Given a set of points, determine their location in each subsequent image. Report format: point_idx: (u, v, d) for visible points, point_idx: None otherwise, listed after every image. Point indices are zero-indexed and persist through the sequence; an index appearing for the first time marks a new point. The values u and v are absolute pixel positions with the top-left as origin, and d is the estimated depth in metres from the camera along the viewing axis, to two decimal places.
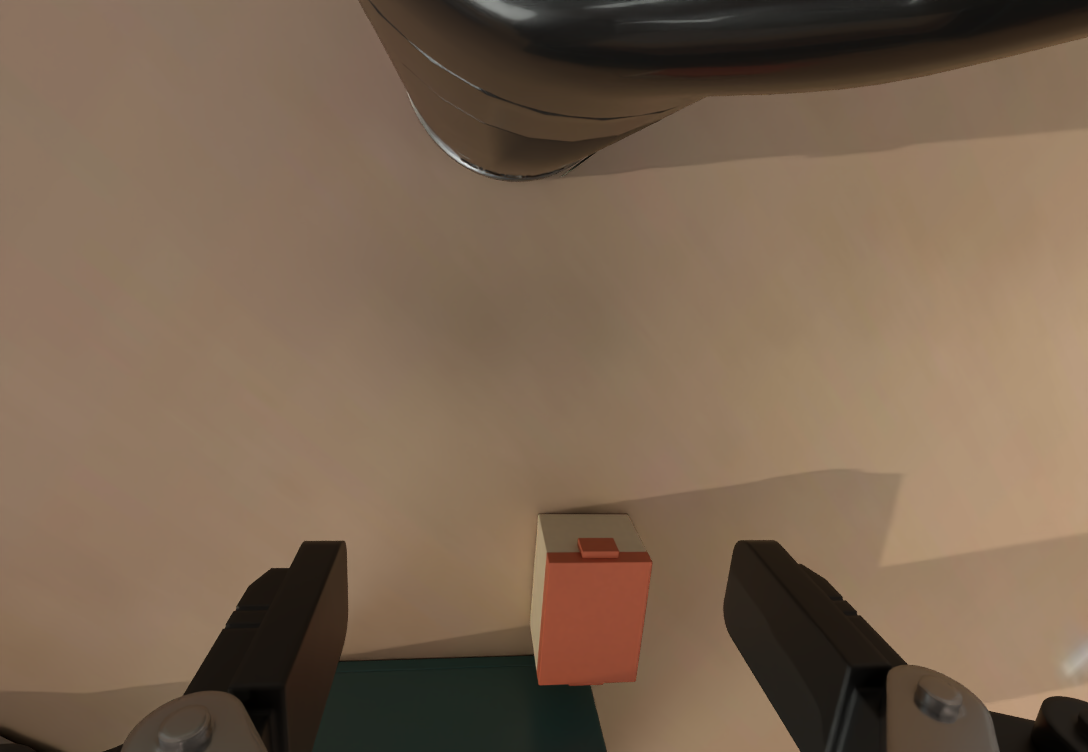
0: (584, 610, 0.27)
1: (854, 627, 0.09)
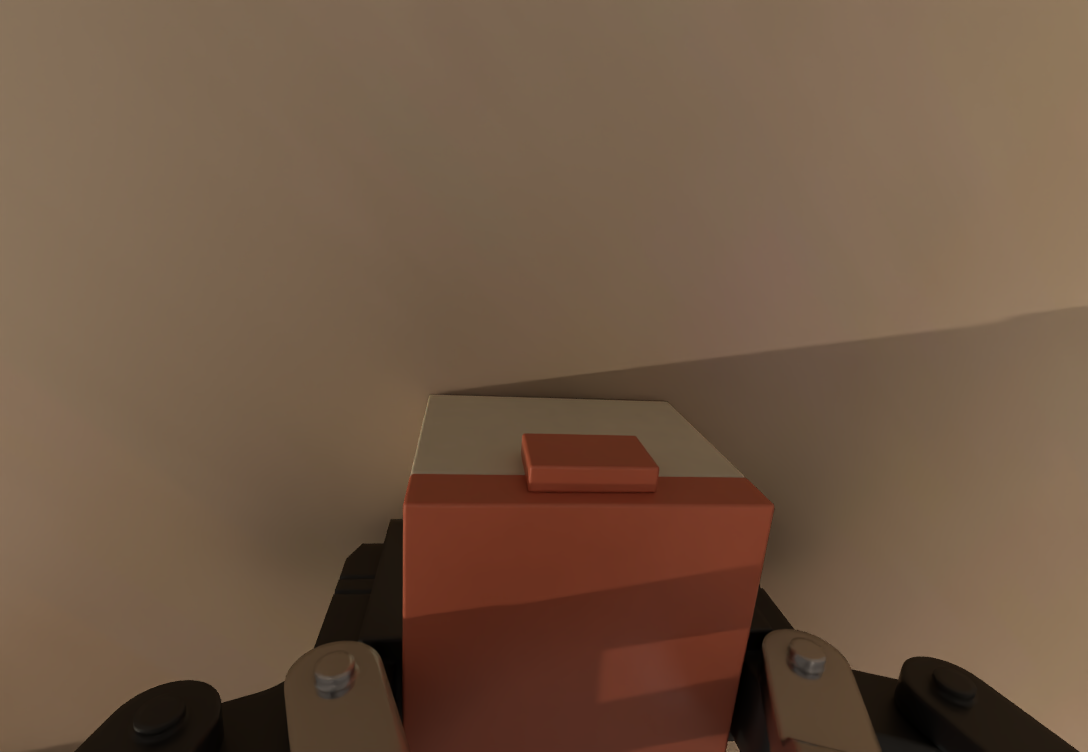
0: (541, 671, 0.08)
1: None
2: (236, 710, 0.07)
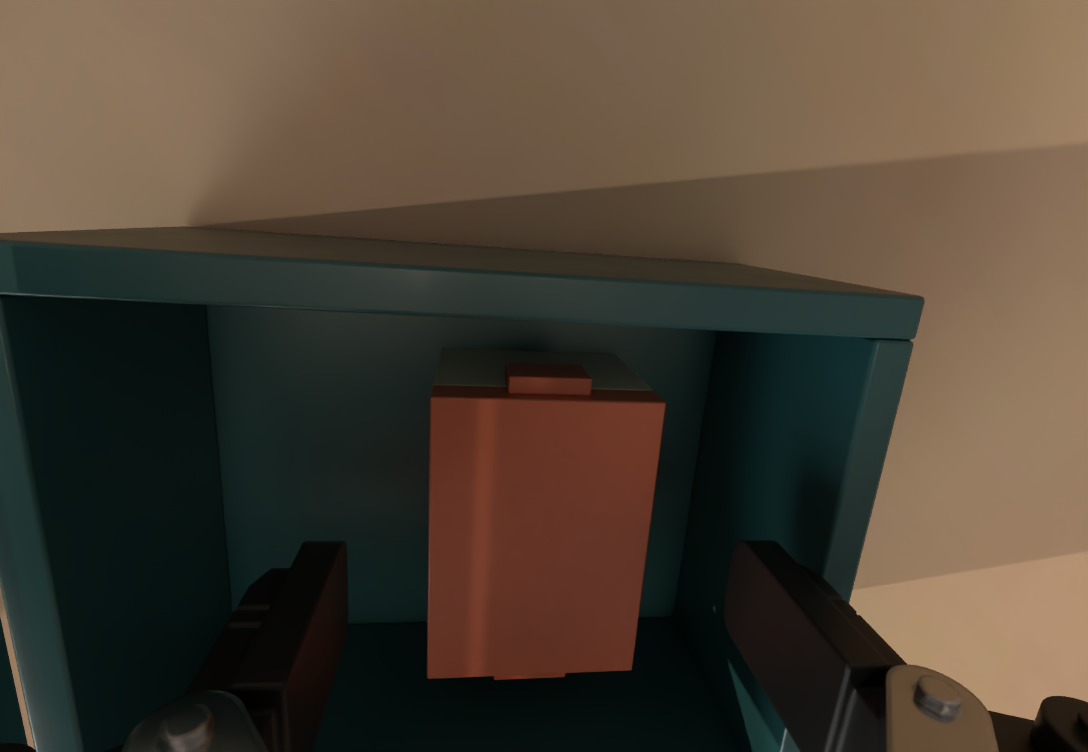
0: (517, 513, 0.12)
1: (853, 627, 0.09)
2: None
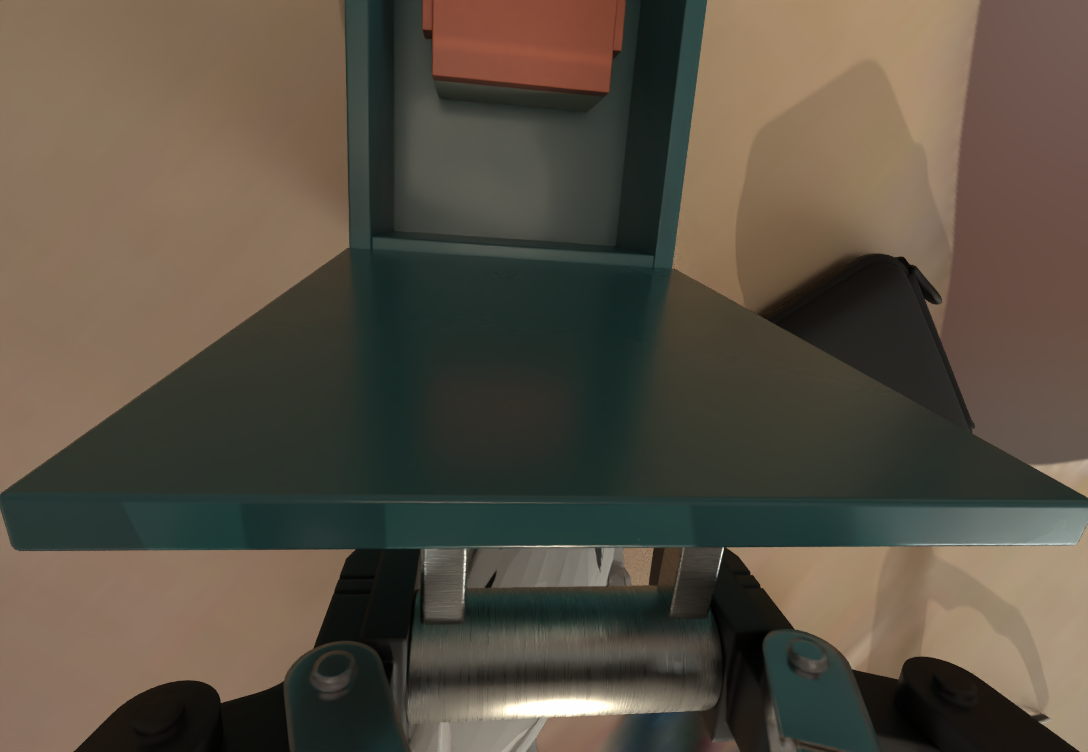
0: (502, 26, 0.21)
1: (748, 597, 0.10)
2: (236, 710, 0.07)
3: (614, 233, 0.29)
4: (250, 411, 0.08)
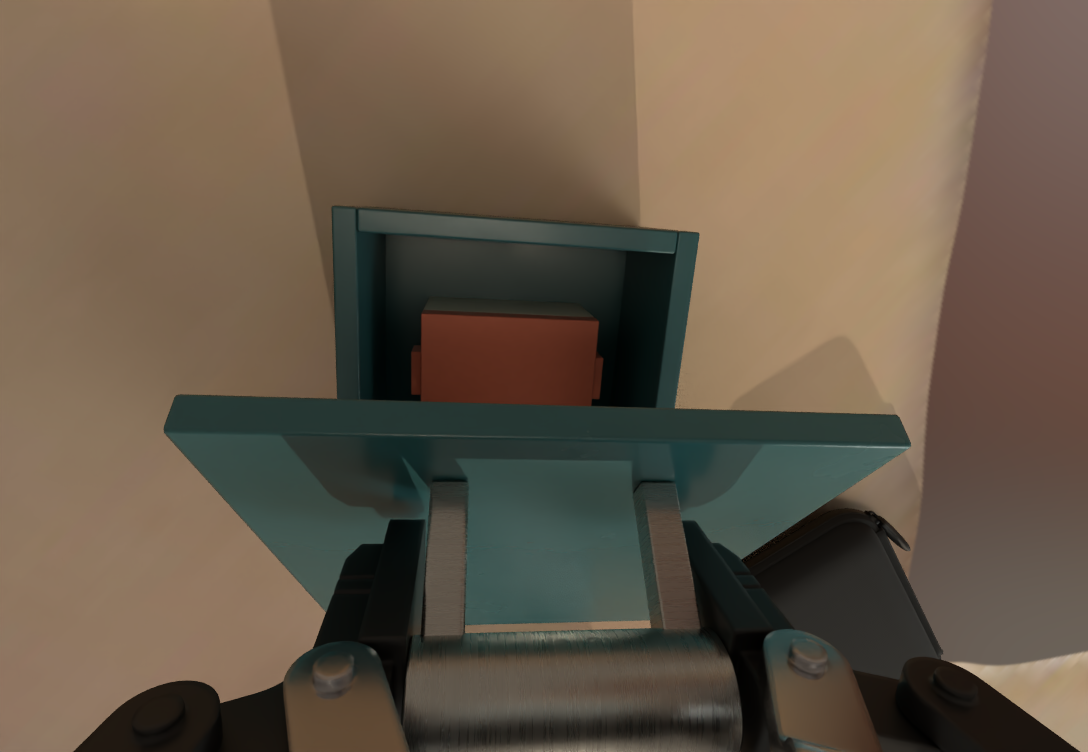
0: (486, 391, 0.23)
1: (748, 597, 0.10)
2: (235, 711, 0.07)
3: None
4: None
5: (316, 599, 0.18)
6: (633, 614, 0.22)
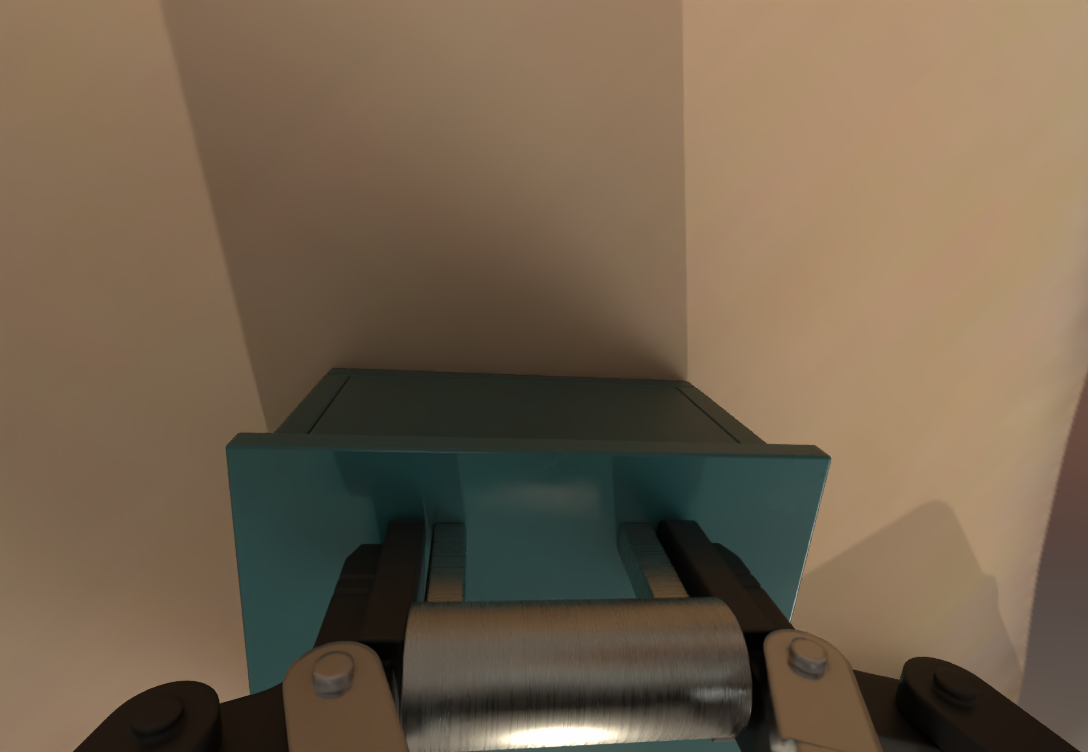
0: None
1: (748, 597, 0.10)
2: (234, 710, 0.07)
3: None
4: None
5: None
6: None
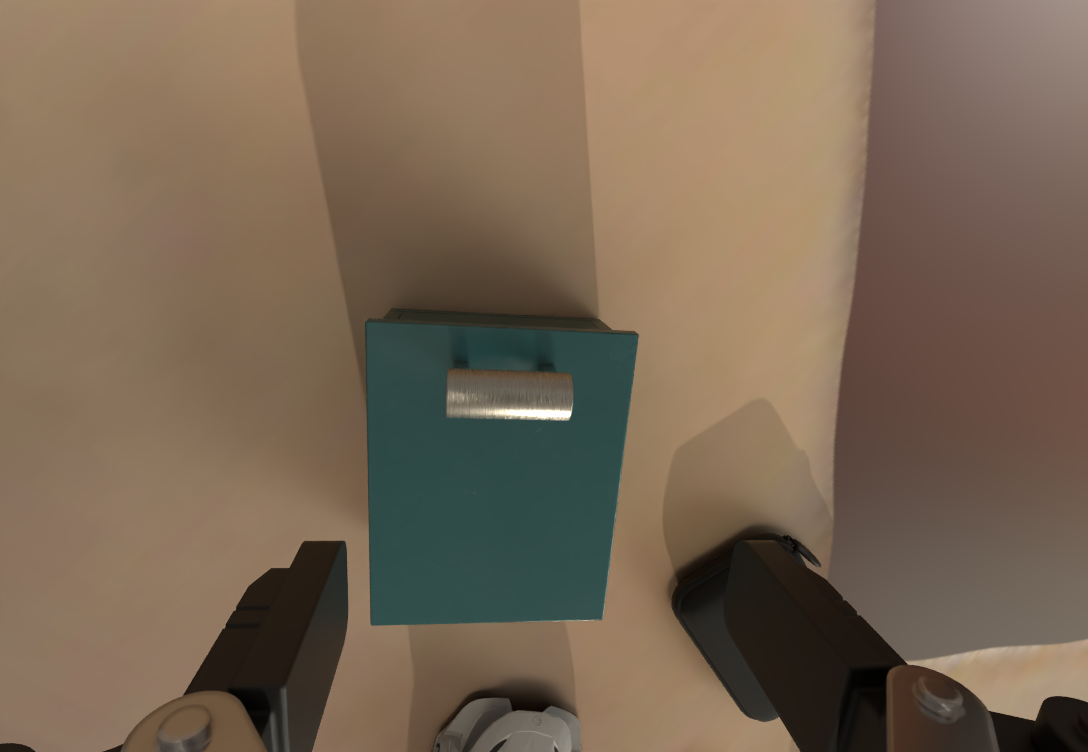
0: None
1: (854, 627, 0.09)
2: None
3: None
4: None
5: (371, 542, 0.28)
6: (585, 599, 0.31)
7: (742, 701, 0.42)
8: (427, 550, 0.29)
